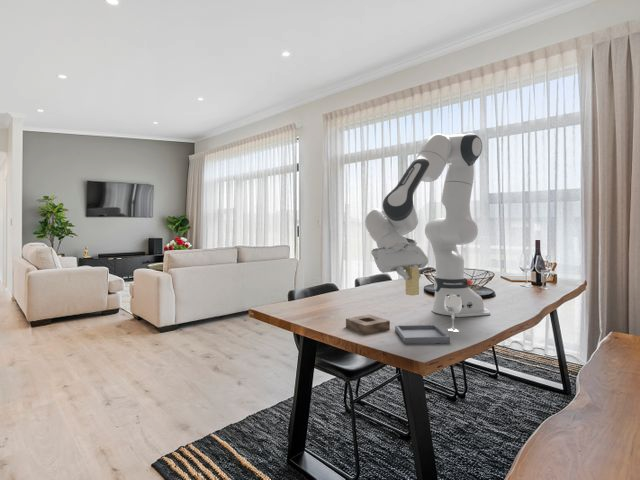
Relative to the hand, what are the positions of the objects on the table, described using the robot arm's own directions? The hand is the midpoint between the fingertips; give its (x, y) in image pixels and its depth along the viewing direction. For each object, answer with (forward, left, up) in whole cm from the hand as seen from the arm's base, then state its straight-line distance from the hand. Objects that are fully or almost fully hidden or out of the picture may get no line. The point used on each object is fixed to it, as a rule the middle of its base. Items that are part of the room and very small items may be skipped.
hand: (413, 278), depth 123 cm
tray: (-2, +1, -19) cm, 19 cm away
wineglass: (-15, -6, -19) cm, 25 cm away
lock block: (+14, -10, -19) cm, 26 cm away
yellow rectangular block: (0, -1, -5) cm, 5 cm away
